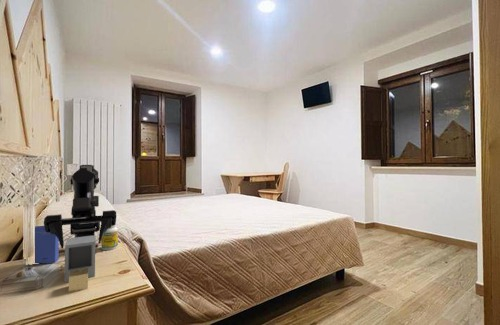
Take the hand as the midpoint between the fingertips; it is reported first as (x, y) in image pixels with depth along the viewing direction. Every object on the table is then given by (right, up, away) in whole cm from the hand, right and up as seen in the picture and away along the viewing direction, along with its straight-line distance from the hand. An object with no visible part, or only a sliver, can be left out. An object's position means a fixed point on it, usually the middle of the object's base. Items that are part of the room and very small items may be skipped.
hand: (81, 245), depth 74 cm
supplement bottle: (-3, -8, +20) cm, 22 cm away
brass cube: (+5, -8, -9) cm, 13 cm away
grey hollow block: (+1, -8, -2) cm, 8 cm away
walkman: (-17, -8, +6) cm, 19 cm away
